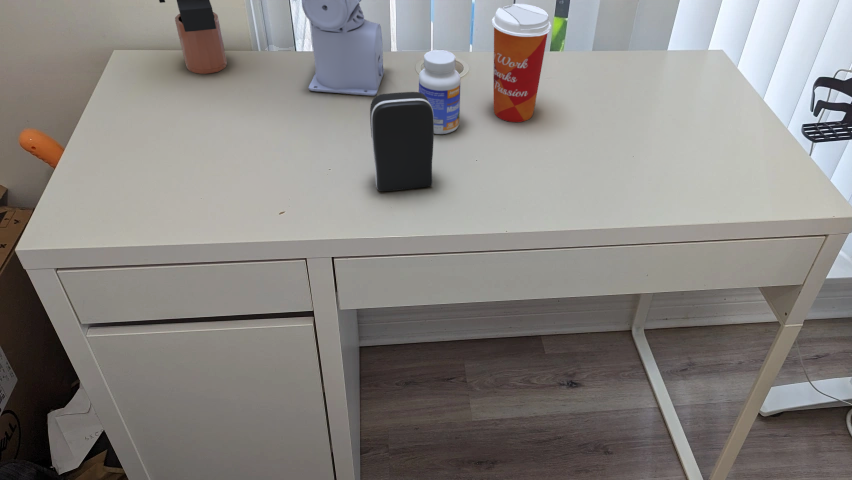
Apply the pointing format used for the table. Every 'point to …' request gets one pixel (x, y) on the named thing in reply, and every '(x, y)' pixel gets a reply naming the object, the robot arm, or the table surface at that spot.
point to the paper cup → (518, 59)
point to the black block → (196, 15)
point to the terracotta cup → (202, 48)
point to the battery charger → (402, 140)
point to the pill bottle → (441, 89)
